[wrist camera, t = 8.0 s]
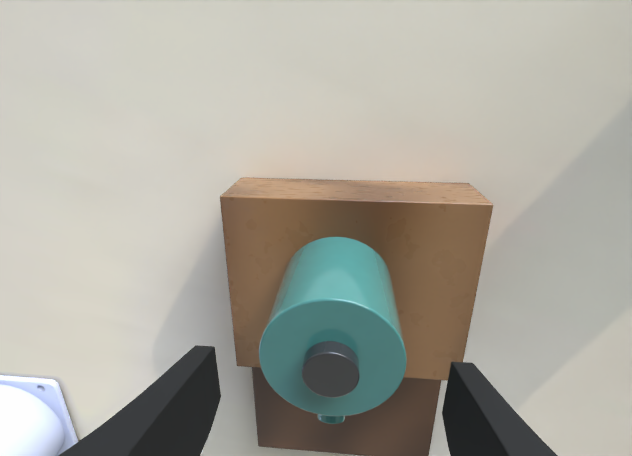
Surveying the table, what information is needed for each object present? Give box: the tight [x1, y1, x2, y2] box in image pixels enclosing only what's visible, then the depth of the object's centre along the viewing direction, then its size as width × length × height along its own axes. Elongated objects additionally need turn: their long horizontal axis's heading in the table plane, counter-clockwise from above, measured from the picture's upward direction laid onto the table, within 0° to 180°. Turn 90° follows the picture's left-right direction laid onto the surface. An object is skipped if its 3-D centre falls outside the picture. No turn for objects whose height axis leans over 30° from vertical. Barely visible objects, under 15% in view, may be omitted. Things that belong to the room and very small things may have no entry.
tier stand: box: [220, 178, 493, 456], centre depth 19 cm, size 11×18×3 cm, turn 0°
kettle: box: [259, 237, 407, 424], centre depth 14 cm, size 7×5×5 cm
